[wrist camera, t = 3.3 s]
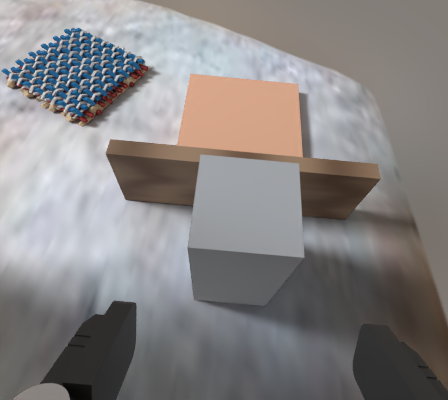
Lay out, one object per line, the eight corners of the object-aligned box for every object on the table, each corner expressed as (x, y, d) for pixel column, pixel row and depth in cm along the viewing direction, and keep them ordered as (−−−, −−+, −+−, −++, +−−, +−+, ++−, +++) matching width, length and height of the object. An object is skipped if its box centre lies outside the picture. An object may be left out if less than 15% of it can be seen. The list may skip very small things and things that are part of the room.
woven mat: (85, 135, 29) (77, 119, 28) (5, 89, 32) (-6, 72, 30) (155, 74, 34) (152, 57, 32) (81, 38, 36) (75, 20, 35)
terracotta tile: (175, 167, 28) (174, 160, 27) (190, 81, 33) (190, 73, 32) (300, 179, 28) (303, 172, 27) (295, 91, 33) (298, 84, 32)
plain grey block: (193, 300, 22) (187, 247, 13) (202, 231, 25) (200, 150, 16) (265, 306, 22) (304, 257, 14) (265, 237, 25) (298, 159, 16)
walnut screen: (125, 199, 26) (105, 153, 21) (128, 187, 26) (110, 139, 21) (345, 219, 26) (380, 179, 21) (343, 206, 27) (377, 164, 21)
